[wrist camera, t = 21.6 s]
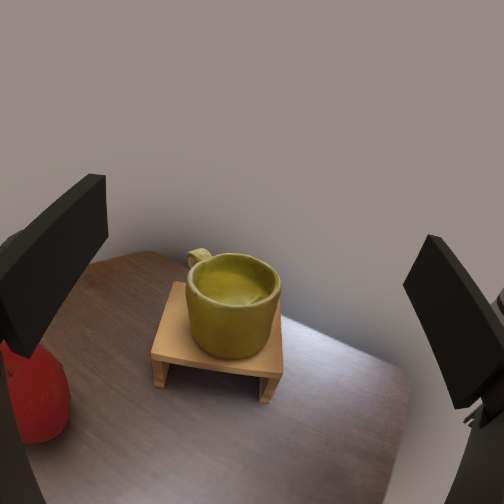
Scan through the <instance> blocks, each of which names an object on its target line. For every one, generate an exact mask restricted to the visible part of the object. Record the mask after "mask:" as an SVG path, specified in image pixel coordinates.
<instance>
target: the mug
mask: <svg viewBox="0 0 504 504" xmlns="http://www.w3.org/2000/svg"><path fill="white" fill-rule="evenodd" d="M187 261H188V266H189V270H190V271H189V273H188V276H187V280H186V289H185V295H186V302H187V307H188V314H189V320H190V326H191V331H192V334H193V336H194V338H195V340H196V341H197V343H198V344H199V346H200V347H202V348H203V349H204V350H205V351H206V352H208V353H209V354H211V355H213V356H216V357H218V358H221V359H245V358H248V357H250V356H252V355H254V354H256V353H258V352H259V351H260V350H261V349H262V348H263V347H264V346H265V345H266V343H267V341H268V339H269V336H270V333H271V328H272V323H273V319H274V316H275V313H276V309H277V305H278V301H279V297H280V294H281V281H280V278H279V276H278V275H277V273H276V272H275V271H274V269H273V268H272V267H271V266H270V265H268V264H267V263H265V262H263V261H261V260H259V259H256V258H254V257H252V256H249V255H244V254H237V253H228V254H226V253H224V254H221V255H215V256H214V257H212V256H211V254H210V252H208V251H207V250H206V249H203V248H200V249H197V250H194V251H190V252H188V254H187Z"/></svg>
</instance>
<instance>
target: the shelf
mask: <svg viewBox="0 0 504 504" xmlns="http://www.w3.org/2000/svg"><path fill="white" fill-rule="evenodd" d="M185 289H186V283H182V282H176V281H174V283H173V286H172V289H171V292H170V295H169V298H168V301H167V304H166V307H165V310H164V313H163V316H162V319H161V322H160V325H159V328H158V331H157V334H156V337H155V340H154V343H153V347H152V350H151V360H152V369H153V378H154V386H157V387H162V388H164V385H165V381H166V377H167V373H168V369H169V365H170V363H173V364H178V365H184V366H189V367H195V368H201V369H207V370H213V371H219V372H226V373H233V374H241V375H249V376H257V377H260V393H259V402H260V403H269V402H270V400H271V398H272V396H273V394H274V391H275V389H276V387H277V385H278V383H279V381H280V379H281V377H282V375H283V356H282V334H281V314H280V299H279V301H278V305H277V309H276V313H275V316H274V319H273V323H272V328H271V333H270V336H269V339H268V341H267V343H266V345H265V346H264V347H263V348H262V349H261V350H260V351H259V352H258V353H256V354H254V355H252V356H250V357H248V358H245V359H221V358H218V357H216V356H213V355H211V354H209V353H208V352H206V351H205V350H204V349H203V348H202V347H200V346H199V344H198V343H197V341H196V340H195V338H194V336H193V334H192V331H191V326H190V320H189V314H188V307H187V302H186V295H185Z"/></svg>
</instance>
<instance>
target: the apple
mask: <svg viewBox="0 0 504 504" xmlns="http://www.w3.org/2000/svg"><path fill="white" fill-rule="evenodd" d="M0 349H1V352H2V354H3V361H4V367H5V373H6V378H7V383H8V388H9V393H10V398H11V402H12V406H13V410H14V414H15V418H16V422H17V425H18V429H19V432H20V436H21V439H22V442H23V443H41V442H45V441H49V440H52V439H54V438H55V437H56V436H58V435H59V434H60V433H61V432H62V431H63V429H64V427H65V425H66V424H67V421H68V418H69V414H70V398H71V396H70V392H69V387H68V383H67V379H66V376H65V373H64V370H63V366H62V364H61V363H60V362H59V361H58V360H57V359H56V358H55V357H54V356H53V355H52V354H51V353H50V352H49V351H48V350H47V349H46V348H44V347H43V346H42V345H41V344H39V343H38V345H37V347H36V349H35V351H34V352H33V354H32V356H31V358H30V360H29V359H27V358H25V357H22V356H20V355H17V354H15V353H13V352H11V351H10V349H9V347H8V346H7V344H6V342H2V343H1V344H0Z"/></svg>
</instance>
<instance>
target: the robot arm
mask: <svg viewBox="0 0 504 504" xmlns="http://www.w3.org/2000/svg"><path fill="white" fill-rule="evenodd" d="M107 238H108V224H107V205H106V176H105V175H97V174H88V175H87V176H85V177H84V178H83V179H82V180H80V181H79V182H78V183H76V184H75V185H74V186H73V187H72V188H70V189H69V190H68V191H67V192H66V193H64V194H63V195H62V196H61V197H59V198H58V199H57V200H56V201H55V202H54V203H52V205H50V206H49V207H48V208H47V209H46V210H45V211H43V212H42V213H41V214H40V215H39V216H38V217H37V218H36V219H35V220H34V221H32V222H31V223H30V224H29V225H28V226H27V227H26V228H25V229H24V230H21V231H19V232H17V233H16V234H14V235H12V236H10V237H9V238H8V239H7V240H6V241H5V242H4V243H3V244H2V245H1V246H0V344H1V343H2V341H3V339H4V340H5V342H6V344H7V346H8V347H9V349H10V351H11V352H13V353H15V354H17V355H20V356H22V357H25V358H27V359H29V360H30V358H31V356H32V354H33V352H34V351H35V349H36V347H37V345H38V343H39V342H40V340H41V338H42V336H43V335H44V333H45V331H46V330H47V328H48V326H49V325H50V323H51V321H52V320H53V318H54V316H55V315H56V313H57V311H58V310H59V308H60V307H61V305H62V303H63V302H64V300H65V299H66V297H67V296H68V294H69V292H70V291H71V289H72V288H73V286H74V285H75V283H76V282H77V280H78V279H79V277H80V276H81V274H82V273H83V272H84V270H85V269H86V267H87V266H88V264H89V263H90V261H91V260H92V259H93V257H94V256H95V254H96V253H97V252H98V250H99V249H100V248H101V246H102V244H103V243H104V242H105V240H106V239H107ZM403 287H404V289H405V290H406V293H407V295H408V297H409V299H410V301H411V303H412V305H413V307H414V309H415V312H416V314H417V316H418V318H419V320H420V323H421V325H422V327H423V329H424V332H425V334H426V336H427V338H428V341H429V343H430V345H431V348H432V350H433V353H434V355H435V358H436V360H437V362H438V365H439V367H440V370H441V372H442V375H443V378H444V380H445V383H446V386H447V389H448V391H449V394H450V397H451V399H452V402H453V405H454V408H455V409H462V408H468V407H470V406H471V405H472V404H473V403H474V402H475V401H477V400H478V399H479V398H480V397H481V399H482V402H483V403H482V404H481V405H480V406H479V407H478V408H477V409H476V410H474V411H473V412H472V413H471V414H470V415H469V416H467V417H466V418H465V420H464V422H463V423H466V422H468V421H469V420H470V419H471V418H472V419H474V420H473V421H472V422H471V423H470V424H469V425H468V426H469V427H471V428H472V429H471V432H470V436H469V439H468V442H467V445H466V449H465V452H464V455H463V458H462V460H461V463H460V466H459V469H458V472H457V474H456V477H455V479H454V482H453V484H452V487H451V489H450V492H449V494H448V496H447V498H446V501H445V503H444V504H504V288H503V289H502V291H501V293H500V294H499V296H498V297H497V299H496V300H495V301H494V302H493V303H491V304H489V303H488V301H487V300H486V298H485V297H484V295H483V294H482V292H481V291H480V289H479V288H478V286H477V285H476V283H475V282H474V281H473V279H472V278H471V276H470V275H469V274H468V272H467V271H466V269H465V268H464V267H463V265H462V264H461V263H460V261H459V260H458V259H457V257H456V256H455V255H454V253H453V252H452V251H451V249H450V248H449V247H448V246H447V244H446V243H445V242H444V241H443V239H442V238H441V237H437V236H433V235H428V236H427V238H426V240H425V242H424V244H423V246H422V248H421V250H420V252H419V254H418V256H417V258H416V260H415V262H414V264H413V266H412V268H411V270H410V272H409V274H408V276H407V278H406V280H405V282H404V283H403ZM0 504H46V502H45V500H44V498H43V495H42V493H41V491H40V488H39V486H38V484H37V481H36V479H35V476H34V474H33V471H32V468H31V466H30V463H29V460H28V457H27V454H26V451H25V448H24V445H23V442H22V439H21V436H20V432H19V429H18V425H17V422H16V418H15V414H14V410H13V406H12V402H11V398H10V393H9V388H8V383H7V378H6V373H5V367H4V361H3V354H2V352H1V349H0Z"/></svg>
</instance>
